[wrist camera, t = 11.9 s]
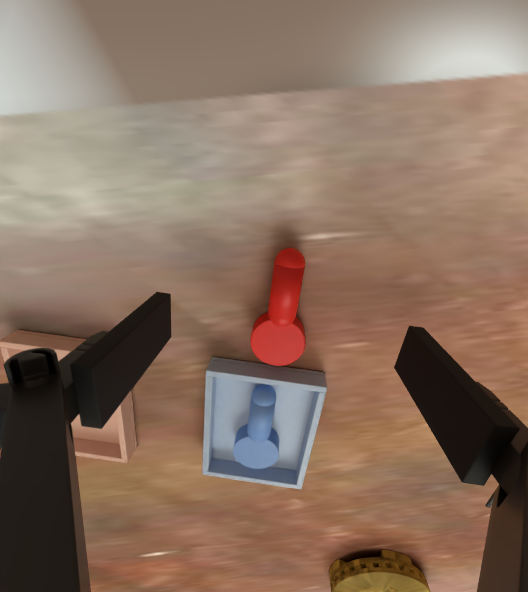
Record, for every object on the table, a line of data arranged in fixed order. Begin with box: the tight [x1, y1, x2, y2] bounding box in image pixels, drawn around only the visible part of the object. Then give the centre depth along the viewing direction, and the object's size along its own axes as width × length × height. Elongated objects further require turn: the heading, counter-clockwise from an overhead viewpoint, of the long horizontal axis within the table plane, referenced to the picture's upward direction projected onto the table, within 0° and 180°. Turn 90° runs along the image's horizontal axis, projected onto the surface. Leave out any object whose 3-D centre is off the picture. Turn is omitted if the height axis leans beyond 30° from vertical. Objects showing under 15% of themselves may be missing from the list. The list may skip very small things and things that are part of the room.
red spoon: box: [250, 248, 306, 366], centre depth 21 cm, size 10×4×2 cm, turn 174°
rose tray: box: [0, 330, 137, 463], centre depth 27 cm, size 13×10×2 cm
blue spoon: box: [233, 384, 279, 469], centre depth 26 cm, size 10×4×2 cm, turn 174°
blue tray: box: [202, 357, 327, 489], centre depth 26 cm, size 13×10×2 cm
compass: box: [329, 550, 430, 592], centre depth 35 cm, size 12×12×2 cm
